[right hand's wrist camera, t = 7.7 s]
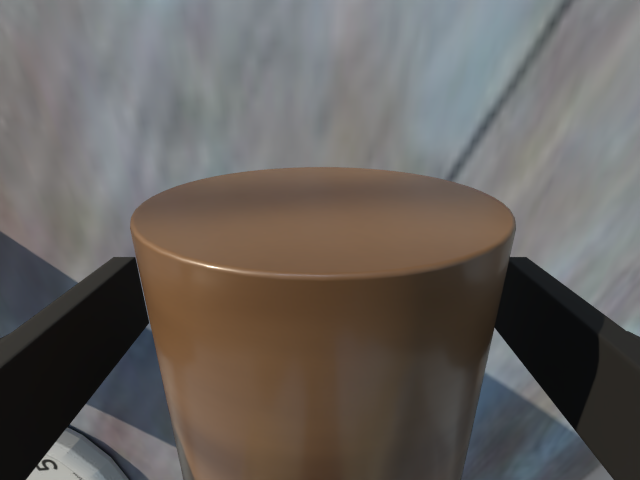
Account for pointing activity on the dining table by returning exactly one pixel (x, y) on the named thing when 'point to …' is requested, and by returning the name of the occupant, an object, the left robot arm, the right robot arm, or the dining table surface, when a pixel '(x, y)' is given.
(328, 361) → the rod
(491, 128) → the dining table surface
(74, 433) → the wall clock
